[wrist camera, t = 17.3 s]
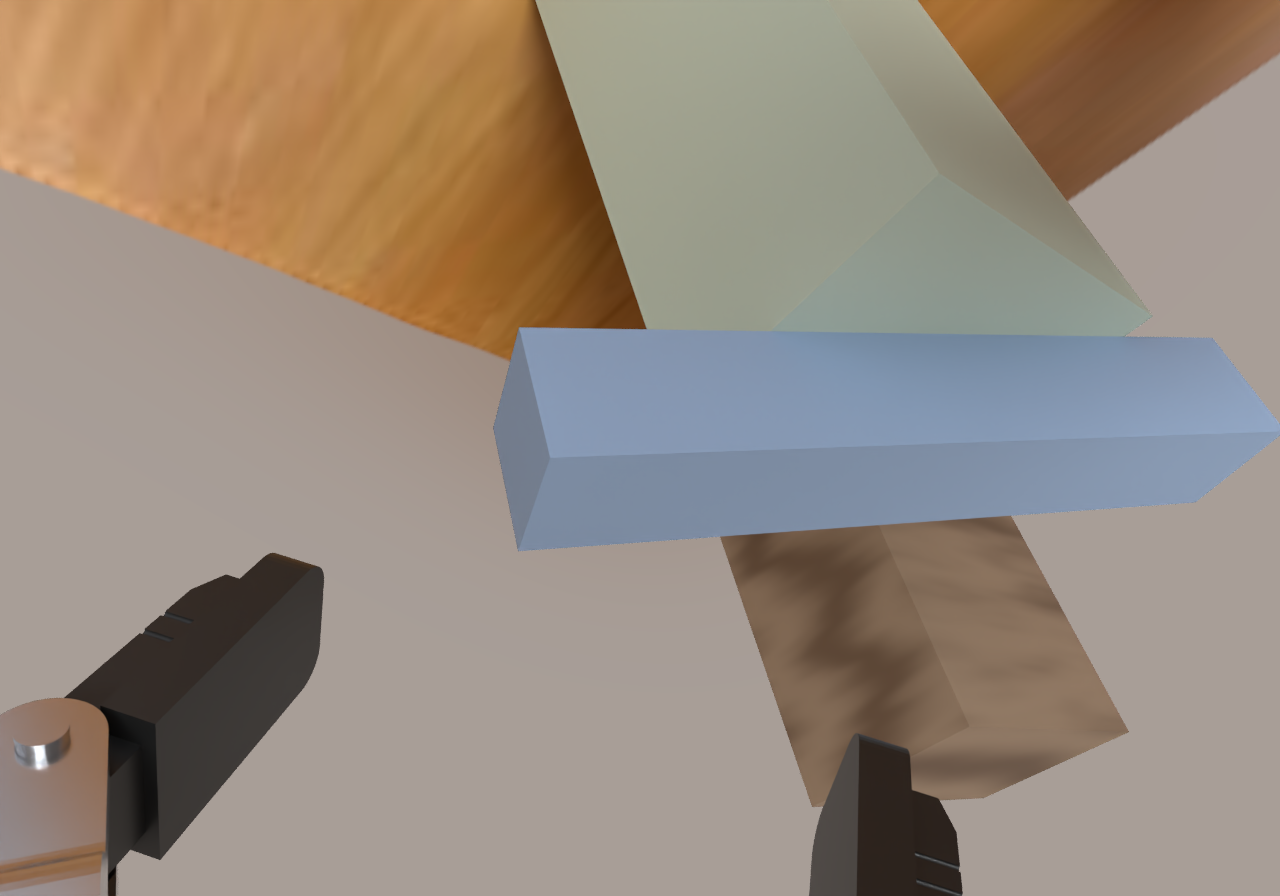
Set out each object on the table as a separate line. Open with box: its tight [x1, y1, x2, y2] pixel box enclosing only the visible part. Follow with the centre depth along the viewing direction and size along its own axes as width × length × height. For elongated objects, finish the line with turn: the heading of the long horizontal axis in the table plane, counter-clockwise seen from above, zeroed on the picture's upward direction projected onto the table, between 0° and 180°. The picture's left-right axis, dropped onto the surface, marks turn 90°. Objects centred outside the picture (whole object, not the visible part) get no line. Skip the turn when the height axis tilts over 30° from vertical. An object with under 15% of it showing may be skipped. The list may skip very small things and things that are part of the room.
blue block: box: [493, 327, 1280, 551], centre depth 28 cm, size 4×24×4 cm, turn 75°
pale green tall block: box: [535, 0, 1152, 337], centre depth 36 cm, size 10×12×24 cm
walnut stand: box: [721, 516, 1129, 807], centre depth 50 cm, size 8×13×32 cm, turn 53°
